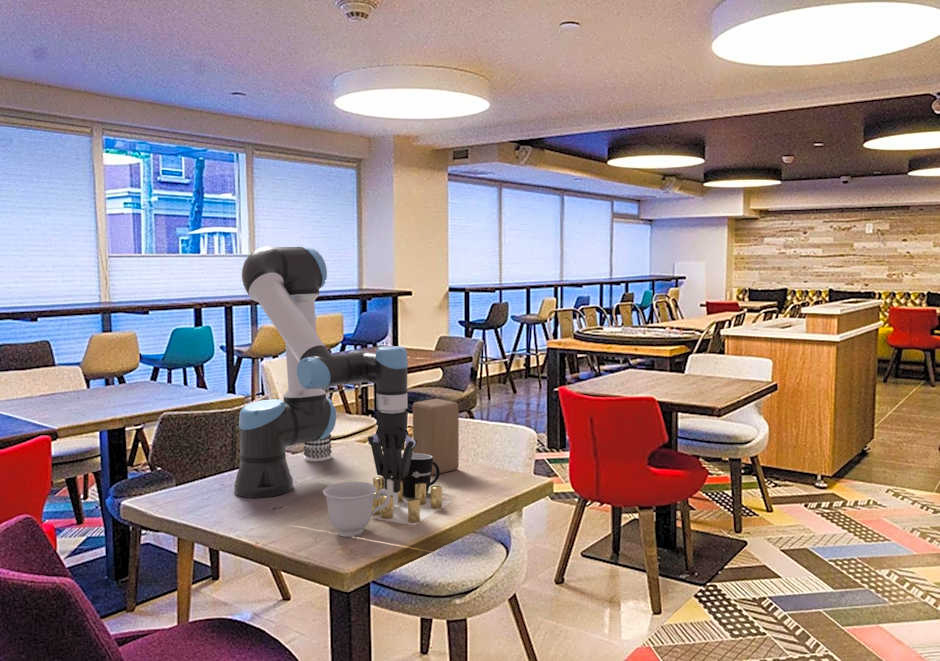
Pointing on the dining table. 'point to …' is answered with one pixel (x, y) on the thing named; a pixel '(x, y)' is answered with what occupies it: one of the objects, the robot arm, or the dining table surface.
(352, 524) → the teacup
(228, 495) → the dining table surface
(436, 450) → the block
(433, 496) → the spacers
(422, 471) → the mug
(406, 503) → the tray
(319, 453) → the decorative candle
